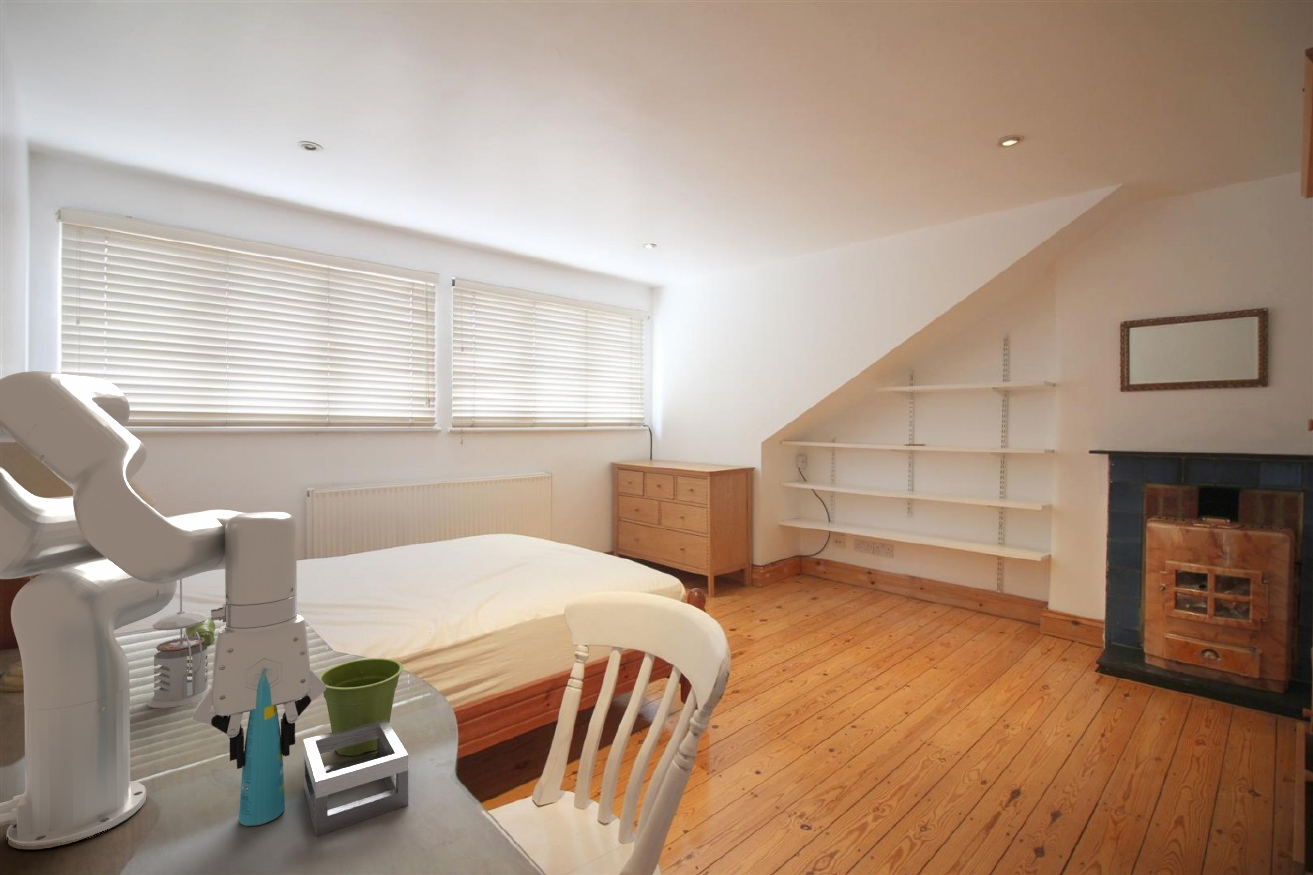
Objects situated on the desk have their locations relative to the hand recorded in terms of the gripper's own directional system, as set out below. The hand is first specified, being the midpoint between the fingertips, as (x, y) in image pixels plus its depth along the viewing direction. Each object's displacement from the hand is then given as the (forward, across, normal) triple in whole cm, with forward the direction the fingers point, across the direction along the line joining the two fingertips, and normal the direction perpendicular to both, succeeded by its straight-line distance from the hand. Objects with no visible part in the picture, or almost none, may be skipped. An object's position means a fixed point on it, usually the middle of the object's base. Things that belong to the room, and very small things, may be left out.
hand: (263, 756), depth 77 cm
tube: (+8, 0, 0) cm, 8 cm away
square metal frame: (+7, +10, -2) cm, 13 cm away
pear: (+8, -7, +85) cm, 86 cm away
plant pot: (+8, +13, +12) cm, 19 cm away
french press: (+8, -10, +50) cm, 51 cm away
